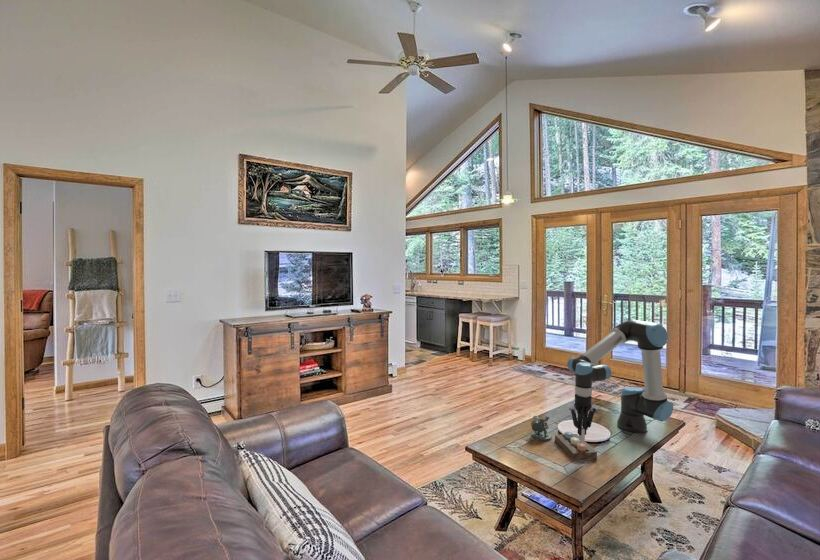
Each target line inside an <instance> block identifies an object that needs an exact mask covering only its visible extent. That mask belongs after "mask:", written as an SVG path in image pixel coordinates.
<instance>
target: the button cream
mask: <svg viewBox="0 0 820 560" xmlns="http://www.w3.org/2000/svg"><path fill="white" fill-rule="evenodd" d="M578 443H580V440H579V439H578V438H575V437H572V438H571V442H570V444H571V445H572V446H577V444H578Z"/></svg>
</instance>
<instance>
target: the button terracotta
mask: <svg viewBox="0 0 820 560" xmlns="http://www.w3.org/2000/svg"><path fill="white" fill-rule="evenodd" d="M586 449H587V446H586V445H585V444H582V443H578V444H577V451H579V452H586Z"/></svg>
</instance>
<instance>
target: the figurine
mask: <svg viewBox="0 0 820 560" xmlns="http://www.w3.org/2000/svg"><path fill="white" fill-rule="evenodd" d="M532 418H533V420H532V421H531V423H530V425H531V429H532V432H531V435H530V436H531V437H532V438H533V439H535V440H537V441H540V442H548V441H551V440H552V437H553V435H552V434H551V433H549V432H548V431H547V430H548V429H549V428H550V427H549V424H548V423H547V422H548V421H549V420H550V417H549V416H544V418H540V417H539V416H538V415H533V416H532Z"/></svg>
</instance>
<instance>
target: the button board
mask: <svg viewBox="0 0 820 560" xmlns="http://www.w3.org/2000/svg"><path fill="white" fill-rule="evenodd" d="M564 436H565V433H564V434H555V435H554V442H555V443H556V444H557V446H559V447H560V448H561V449H562V450H563V452H565V453H566V455H568V456H569V458H571V460H573V461H584V460H587V461H588V460H597V459H598V452H597V451H596V449H595V448H593V447H592V446H591V445H590V444H589V443H587V441H585V442H581V441H580V443H582V444H585V445H586V446H587V449H586V452H579V451H577V446H572V445H571V444H570V442H571V440H566V439H565V438H564ZM573 437H575V438H578V439H579V434H578V433H573Z"/></svg>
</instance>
